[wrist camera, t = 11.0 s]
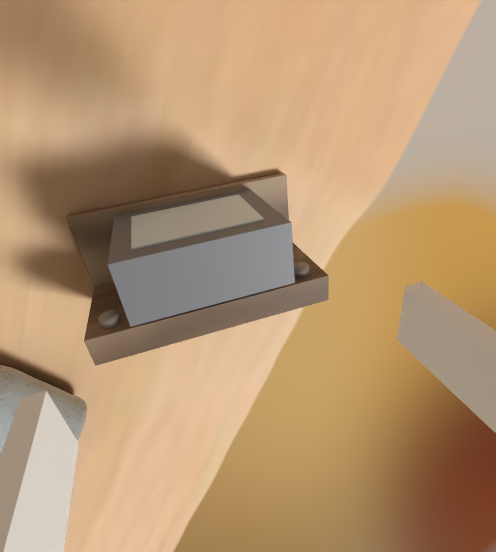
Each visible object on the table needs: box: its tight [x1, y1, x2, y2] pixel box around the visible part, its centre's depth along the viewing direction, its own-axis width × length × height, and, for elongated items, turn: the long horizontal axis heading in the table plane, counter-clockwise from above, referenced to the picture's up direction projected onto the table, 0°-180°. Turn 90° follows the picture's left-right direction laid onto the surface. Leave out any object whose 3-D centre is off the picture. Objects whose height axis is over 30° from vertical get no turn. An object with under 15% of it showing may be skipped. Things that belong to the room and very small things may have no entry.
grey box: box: [108, 189, 295, 327], centre depth 22 cm, size 4×10×8 cm, turn 97°
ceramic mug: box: [0, 365, 87, 455], centre depth 26 cm, size 11×8×8 cm
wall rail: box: [67, 173, 328, 365], centre depth 24 cm, size 8×16×8 cm, turn 97°
